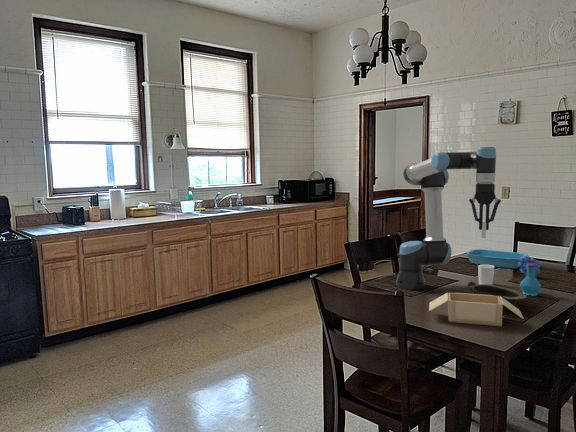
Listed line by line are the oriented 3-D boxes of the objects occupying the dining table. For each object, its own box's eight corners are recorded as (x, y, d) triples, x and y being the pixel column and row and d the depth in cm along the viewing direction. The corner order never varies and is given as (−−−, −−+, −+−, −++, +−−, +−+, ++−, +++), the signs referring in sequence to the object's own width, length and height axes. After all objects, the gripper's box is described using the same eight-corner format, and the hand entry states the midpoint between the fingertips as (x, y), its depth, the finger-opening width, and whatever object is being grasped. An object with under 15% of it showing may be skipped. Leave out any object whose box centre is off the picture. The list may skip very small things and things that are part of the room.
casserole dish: (460, 263, 296) (460, 252, 295) (472, 257, 312) (472, 247, 312) (523, 271, 272) (523, 259, 271) (532, 264, 289) (533, 253, 288)
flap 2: (523, 318, 181) (523, 319, 181) (518, 309, 191) (518, 310, 191) (503, 303, 182) (503, 304, 182) (500, 296, 193) (499, 296, 193)
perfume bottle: (529, 297, 221) (530, 266, 219) (515, 292, 230) (516, 262, 228) (545, 295, 224) (546, 265, 222) (530, 290, 232) (531, 261, 231)
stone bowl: (456, 305, 210) (457, 285, 210) (479, 297, 228) (480, 278, 227) (513, 316, 193) (515, 294, 192) (534, 307, 210) (535, 287, 210)
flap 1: (429, 302, 202) (430, 303, 202) (429, 310, 192) (429, 311, 192) (447, 292, 199) (448, 293, 199) (448, 299, 189) (448, 300, 189)
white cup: (495, 286, 240) (496, 267, 239) (479, 286, 242) (479, 267, 241) (491, 282, 248) (492, 264, 247) (476, 282, 250) (476, 264, 248)
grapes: (515, 277, 259) (516, 256, 257) (517, 274, 264) (518, 254, 263) (539, 279, 252) (540, 258, 251) (540, 277, 258) (541, 256, 257)
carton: (448, 322, 189) (449, 301, 188) (447, 312, 201) (448, 292, 200) (502, 327, 183) (502, 305, 181) (497, 316, 195) (498, 295, 194)
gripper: (469, 183, 196) (467, 238, 199) (503, 183, 192) (500, 239, 195) (468, 182, 203) (466, 235, 206) (500, 182, 199) (498, 236, 202)
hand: (483, 237), depth 201 cm, fingers closed
